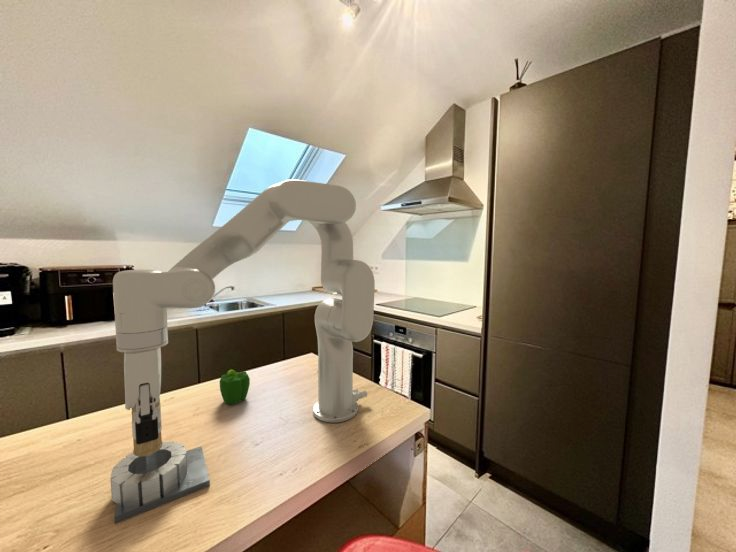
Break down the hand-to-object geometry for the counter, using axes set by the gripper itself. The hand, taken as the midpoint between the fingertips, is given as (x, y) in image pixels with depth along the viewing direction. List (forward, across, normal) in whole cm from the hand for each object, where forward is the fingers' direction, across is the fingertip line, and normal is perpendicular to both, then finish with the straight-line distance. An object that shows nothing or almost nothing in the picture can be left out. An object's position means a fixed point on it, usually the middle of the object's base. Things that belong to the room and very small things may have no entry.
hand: (147, 432), depth 56 cm
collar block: (+11, 0, +2) cm, 11 cm away
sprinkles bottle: (+4, 0, 0) cm, 4 cm away
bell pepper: (+11, -26, +20) cm, 35 cm away
